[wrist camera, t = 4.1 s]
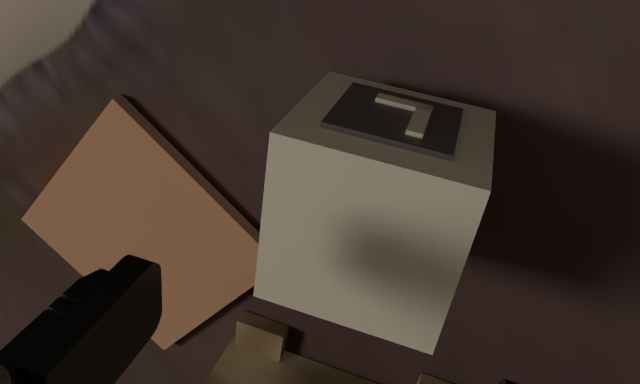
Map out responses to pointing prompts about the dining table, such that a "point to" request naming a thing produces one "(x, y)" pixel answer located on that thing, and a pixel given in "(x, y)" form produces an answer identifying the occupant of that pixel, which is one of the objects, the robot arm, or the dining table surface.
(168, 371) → the dining table surface
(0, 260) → the dining table surface
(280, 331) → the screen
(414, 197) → the cube
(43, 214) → the coaster
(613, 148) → the dining table surface
